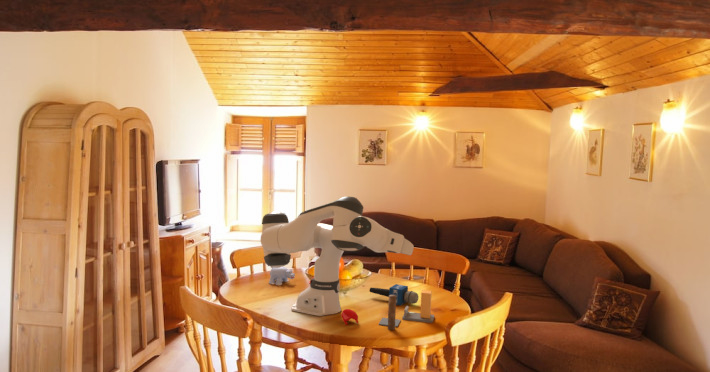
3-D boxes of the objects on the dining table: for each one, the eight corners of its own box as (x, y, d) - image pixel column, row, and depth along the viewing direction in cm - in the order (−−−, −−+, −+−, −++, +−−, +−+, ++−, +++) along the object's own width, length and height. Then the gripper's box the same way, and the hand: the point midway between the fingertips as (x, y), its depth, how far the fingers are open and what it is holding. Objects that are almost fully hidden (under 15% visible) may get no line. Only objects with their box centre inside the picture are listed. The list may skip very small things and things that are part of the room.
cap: (339, 318, 208) (352, 312, 207) (338, 309, 214) (351, 303, 213) (349, 331, 211) (361, 325, 210) (348, 322, 217) (360, 315, 216)
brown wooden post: (387, 329, 206) (388, 296, 205) (388, 327, 209) (389, 294, 208) (394, 330, 205) (395, 297, 204) (395, 328, 208) (396, 295, 207)
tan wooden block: (420, 317, 219) (421, 292, 218) (421, 314, 223) (422, 290, 222) (429, 318, 218) (430, 293, 217) (430, 315, 222) (431, 291, 221)
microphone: (374, 280, 253) (420, 288, 241) (373, 295, 253) (420, 304, 241) (367, 283, 246) (414, 292, 234) (366, 299, 246) (414, 308, 235)
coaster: (378, 324, 211) (378, 323, 211) (382, 318, 219) (382, 317, 219) (397, 327, 209) (397, 325, 209) (400, 320, 217) (400, 319, 217)
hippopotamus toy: (289, 287, 263) (289, 269, 263) (264, 283, 269) (264, 265, 268) (298, 282, 273) (298, 264, 273) (274, 278, 279) (274, 261, 278)
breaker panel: (402, 319, 219) (402, 310, 218) (405, 313, 226) (405, 305, 226) (432, 323, 216) (432, 313, 215) (434, 317, 223) (434, 308, 223)
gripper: (350, 242, 179) (366, 251, 191) (402, 253, 169) (415, 262, 181) (355, 225, 181) (371, 235, 192) (407, 235, 171) (420, 245, 182)
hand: (393, 248), depth 186 cm, fingers open, 8 cm apart
